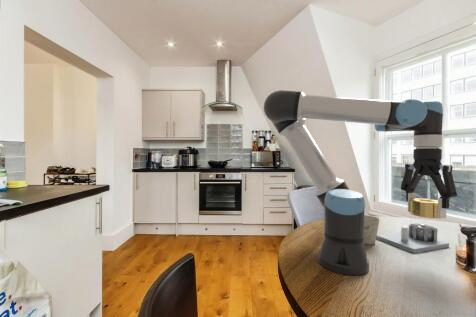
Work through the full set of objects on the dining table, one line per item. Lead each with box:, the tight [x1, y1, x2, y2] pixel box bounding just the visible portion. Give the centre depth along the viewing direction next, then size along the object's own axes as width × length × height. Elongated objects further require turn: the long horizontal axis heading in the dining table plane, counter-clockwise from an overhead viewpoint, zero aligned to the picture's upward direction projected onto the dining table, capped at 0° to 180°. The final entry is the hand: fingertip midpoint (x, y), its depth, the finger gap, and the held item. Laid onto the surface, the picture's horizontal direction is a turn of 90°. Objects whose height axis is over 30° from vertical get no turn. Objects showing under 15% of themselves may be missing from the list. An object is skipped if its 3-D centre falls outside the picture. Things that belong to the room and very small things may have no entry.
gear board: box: [376, 226, 450, 254], centre depth 98 cm, size 20×16×7 cm
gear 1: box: [408, 197, 439, 219], centre depth 81 cm, size 9×9×5 cm
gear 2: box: [408, 223, 438, 242], centre depth 99 cm, size 9×9×6 cm
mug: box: [363, 214, 380, 246], centre depth 98 cm, size 8×13×10 cm, turn 78°
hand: (425, 214), depth 81 cm, fingers closed on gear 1, 9 cm apart
